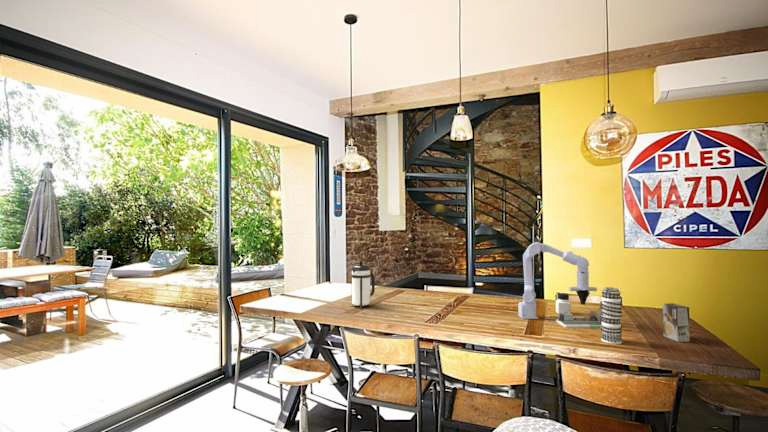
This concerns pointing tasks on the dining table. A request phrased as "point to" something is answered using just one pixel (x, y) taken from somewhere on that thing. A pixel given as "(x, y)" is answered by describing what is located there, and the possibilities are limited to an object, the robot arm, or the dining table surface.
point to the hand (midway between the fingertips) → (582, 304)
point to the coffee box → (676, 322)
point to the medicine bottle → (563, 303)
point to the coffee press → (362, 284)
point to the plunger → (567, 317)
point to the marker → (589, 317)
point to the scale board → (582, 322)
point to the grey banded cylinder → (611, 316)
